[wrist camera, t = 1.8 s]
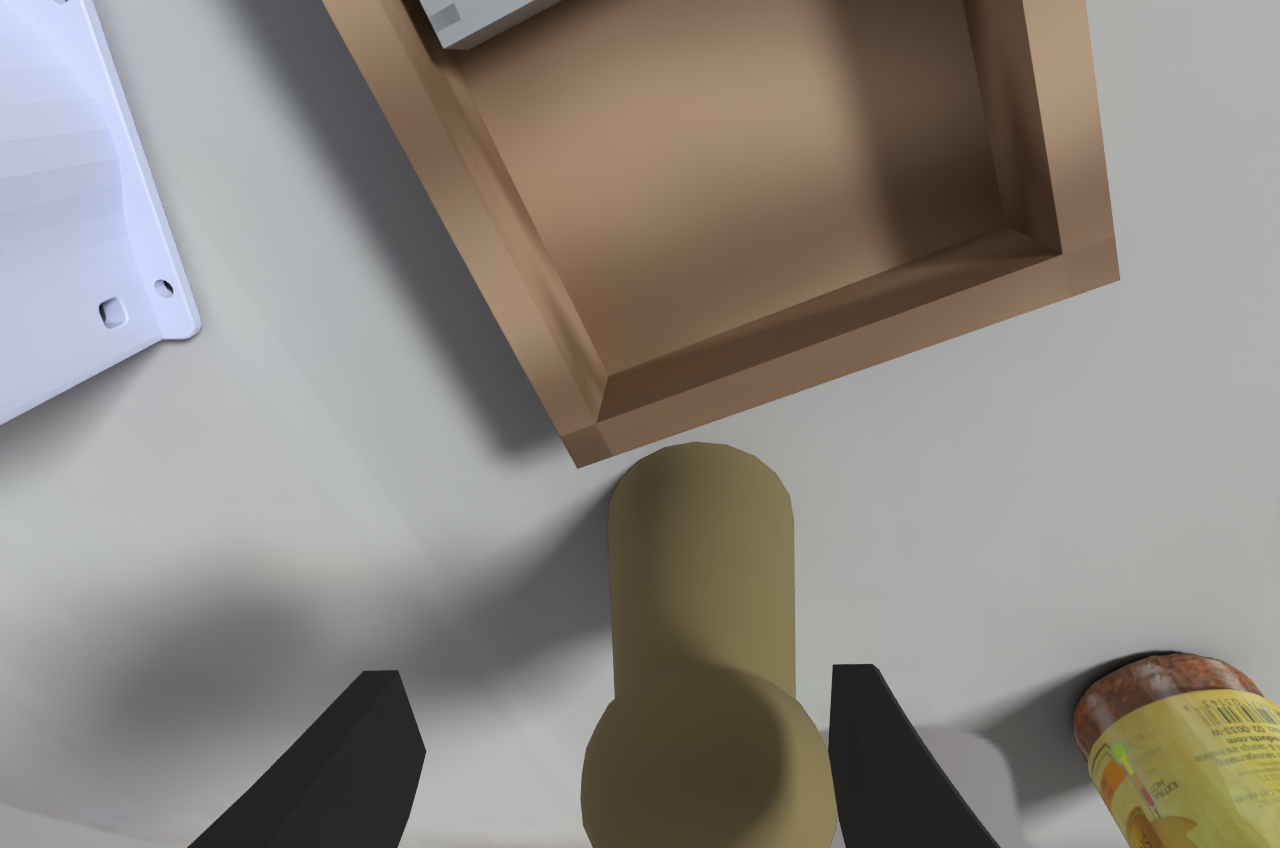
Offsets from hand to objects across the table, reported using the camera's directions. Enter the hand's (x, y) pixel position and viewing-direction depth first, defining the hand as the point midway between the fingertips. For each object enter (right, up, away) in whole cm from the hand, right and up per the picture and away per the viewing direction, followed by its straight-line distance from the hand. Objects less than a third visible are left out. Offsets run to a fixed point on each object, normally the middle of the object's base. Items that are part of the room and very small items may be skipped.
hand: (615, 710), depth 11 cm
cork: (+2, +2, +11) cm, 11 cm away
